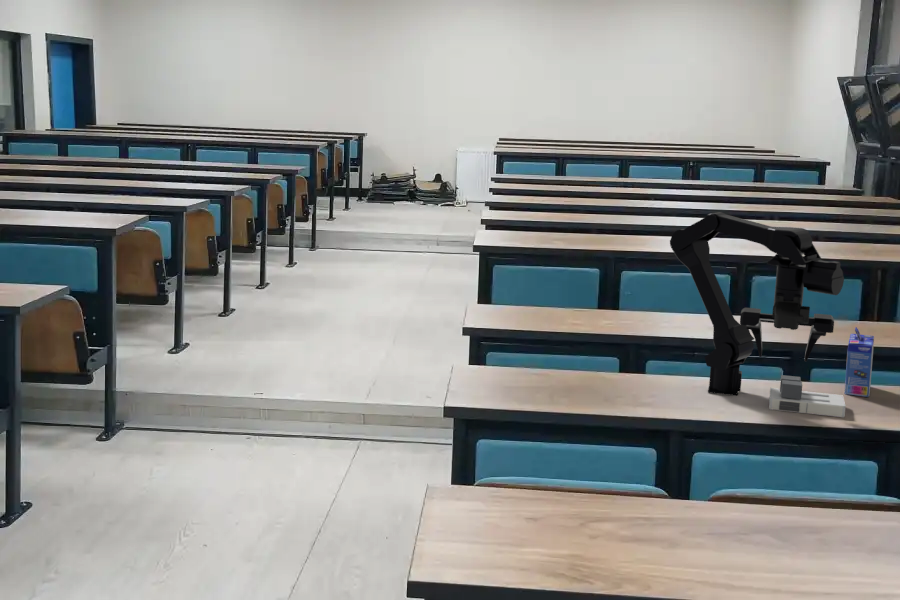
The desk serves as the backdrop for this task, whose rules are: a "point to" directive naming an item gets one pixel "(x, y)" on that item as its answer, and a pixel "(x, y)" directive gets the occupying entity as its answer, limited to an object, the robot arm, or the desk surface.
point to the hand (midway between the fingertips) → (782, 358)
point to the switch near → (791, 389)
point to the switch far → (790, 378)
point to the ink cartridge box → (859, 364)
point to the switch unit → (808, 403)
